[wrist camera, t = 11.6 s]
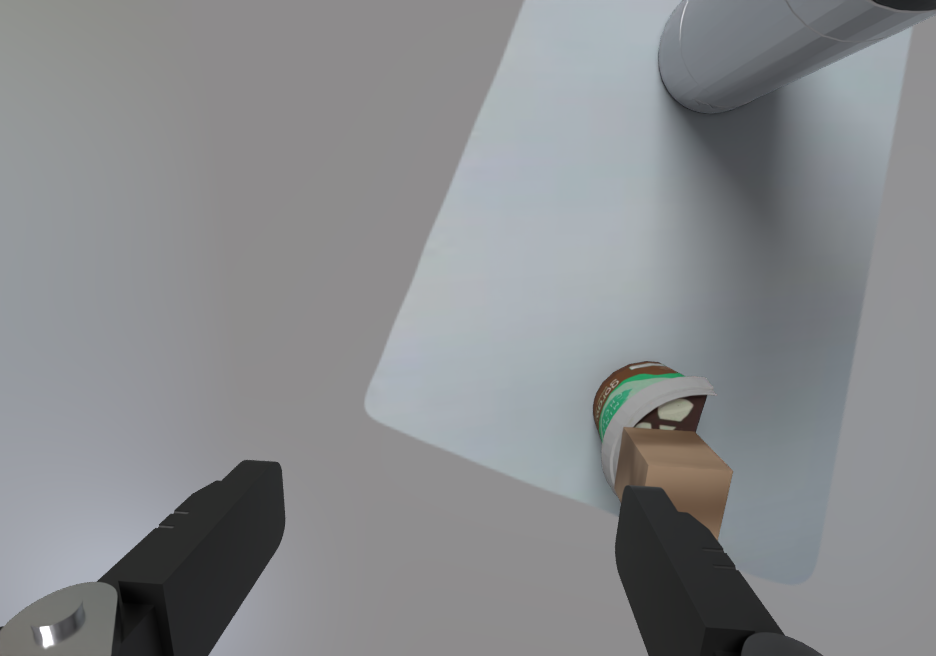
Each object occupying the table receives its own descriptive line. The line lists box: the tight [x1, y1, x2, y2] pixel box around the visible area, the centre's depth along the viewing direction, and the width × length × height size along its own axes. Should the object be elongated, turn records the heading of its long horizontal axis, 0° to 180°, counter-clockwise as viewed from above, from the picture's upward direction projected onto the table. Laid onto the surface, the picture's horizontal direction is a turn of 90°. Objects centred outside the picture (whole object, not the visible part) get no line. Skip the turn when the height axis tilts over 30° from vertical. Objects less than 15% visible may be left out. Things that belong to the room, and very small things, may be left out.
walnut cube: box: [614, 427, 733, 541], centre depth 29 cm, size 5×5×5 cm
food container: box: [593, 361, 717, 495], centre depth 36 cm, size 12×6×10 cm, turn 171°
